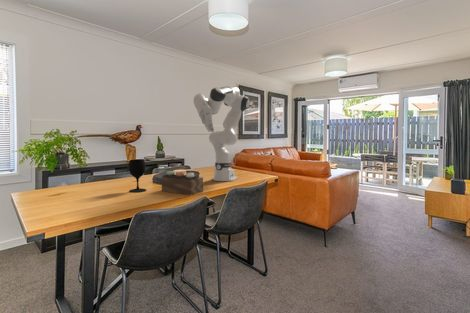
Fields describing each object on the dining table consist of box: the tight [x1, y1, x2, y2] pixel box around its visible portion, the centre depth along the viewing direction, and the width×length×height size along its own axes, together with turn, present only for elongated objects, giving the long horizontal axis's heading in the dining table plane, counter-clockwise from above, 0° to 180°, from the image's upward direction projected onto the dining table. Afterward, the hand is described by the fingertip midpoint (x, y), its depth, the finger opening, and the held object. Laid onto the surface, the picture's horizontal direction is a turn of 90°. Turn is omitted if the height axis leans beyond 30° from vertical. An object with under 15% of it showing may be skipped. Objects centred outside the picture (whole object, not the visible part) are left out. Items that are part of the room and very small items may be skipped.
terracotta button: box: [175, 171, 185, 176], centre depth 166 cm, size 5×5×2 cm
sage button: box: [166, 170, 176, 175], centre depth 170 cm, size 5×5×2 cm
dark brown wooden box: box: [161, 174, 204, 196], centre depth 168 cm, size 12×24×10 cm, turn 61°
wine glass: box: [128, 158, 147, 194], centre depth 168 cm, size 10×10×20 cm
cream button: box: [185, 172, 195, 178], centre depth 162 cm, size 5×5×2 cm
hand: (211, 126), depth 160 cm, fingers open, 8 cm apart
